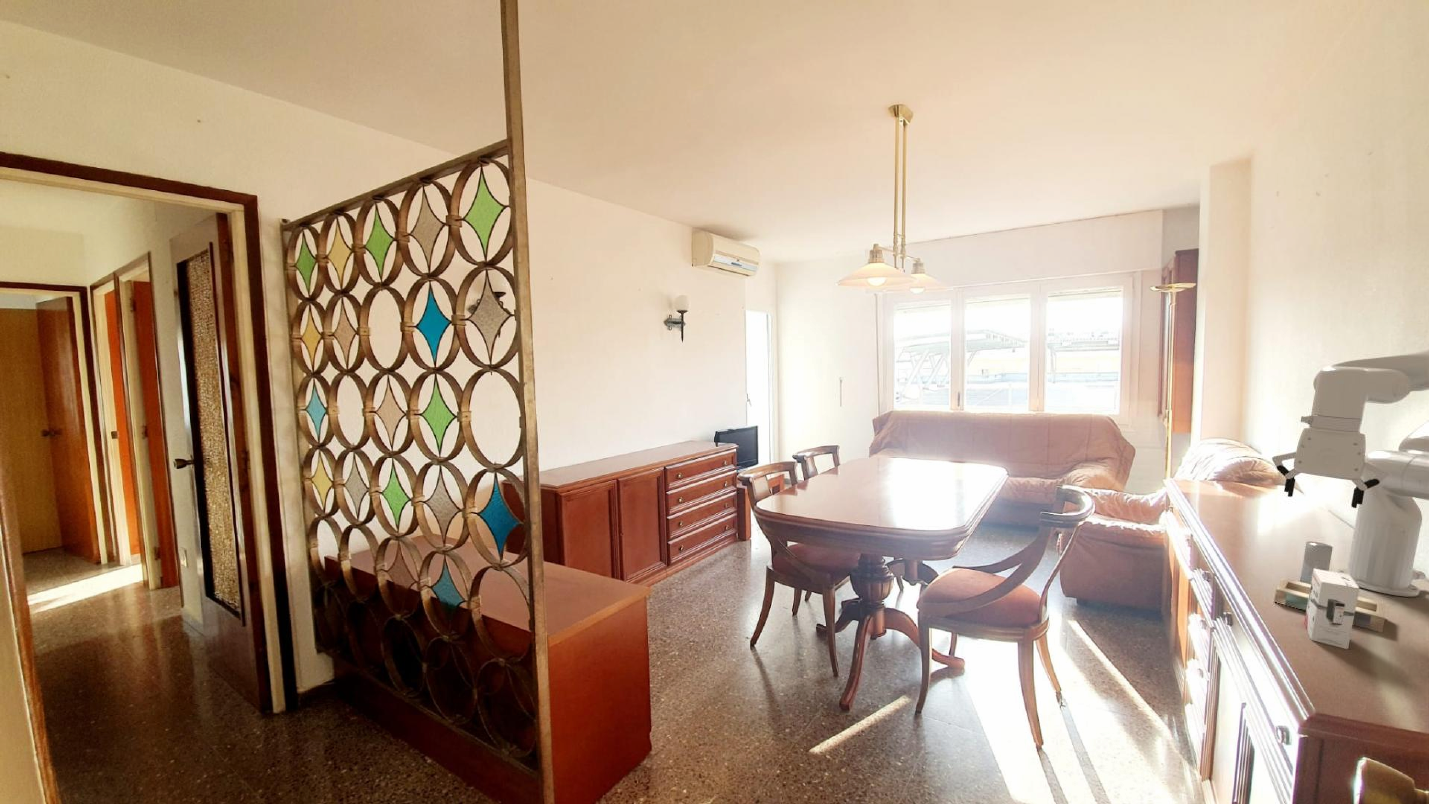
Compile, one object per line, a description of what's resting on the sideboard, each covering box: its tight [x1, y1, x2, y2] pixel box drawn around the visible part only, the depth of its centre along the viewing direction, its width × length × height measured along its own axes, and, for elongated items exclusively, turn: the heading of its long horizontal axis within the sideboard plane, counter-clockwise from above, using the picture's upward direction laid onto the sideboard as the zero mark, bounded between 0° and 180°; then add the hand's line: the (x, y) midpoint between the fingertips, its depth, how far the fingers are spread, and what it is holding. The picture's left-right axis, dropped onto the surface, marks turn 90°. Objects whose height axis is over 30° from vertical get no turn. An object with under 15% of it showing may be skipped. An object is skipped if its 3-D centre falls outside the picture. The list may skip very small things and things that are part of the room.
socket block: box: [1273, 577, 1387, 633], centre depth 117 cm, size 15×10×3 cm
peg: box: [1299, 540, 1334, 584], centre depth 126 cm, size 4×4×11 cm
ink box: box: [1303, 568, 1360, 650], centre depth 106 cm, size 9×5×12 cm, turn 141°
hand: (1321, 501), depth 124 cm, fingers open, 9 cm apart
